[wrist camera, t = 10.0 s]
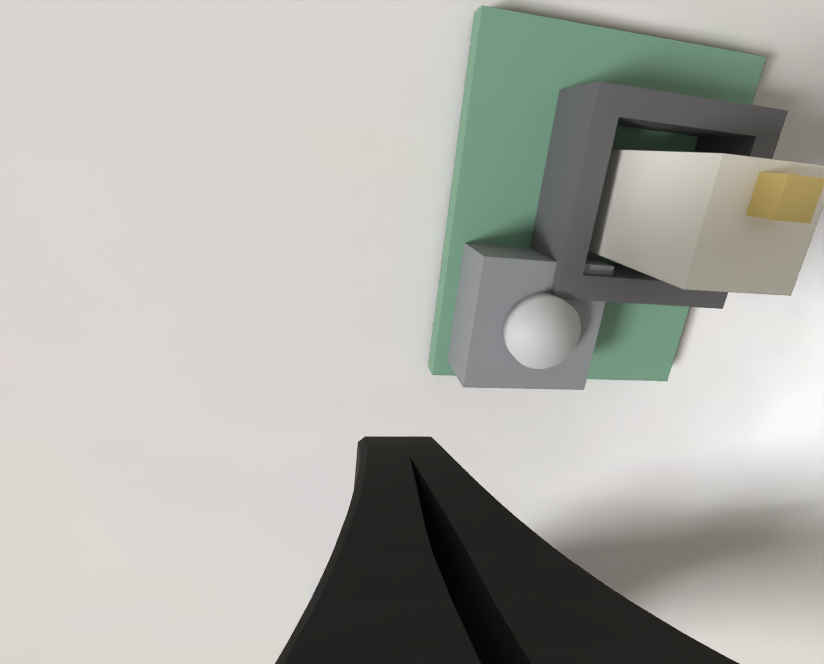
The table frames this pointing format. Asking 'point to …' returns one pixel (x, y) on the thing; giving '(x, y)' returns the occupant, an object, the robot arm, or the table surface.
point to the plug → (709, 219)
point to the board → (572, 197)
